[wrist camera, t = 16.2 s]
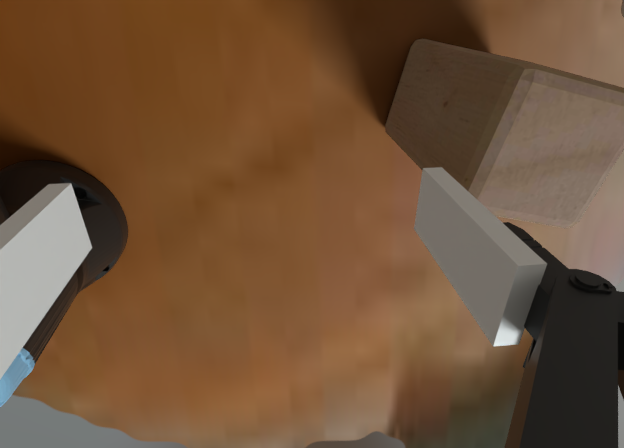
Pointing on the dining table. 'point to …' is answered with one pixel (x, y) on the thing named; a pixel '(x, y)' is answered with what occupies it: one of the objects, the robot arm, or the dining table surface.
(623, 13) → the mug
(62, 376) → the dining table surface
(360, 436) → the dining table surface
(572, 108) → the wooden block
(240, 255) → the dining table surface
